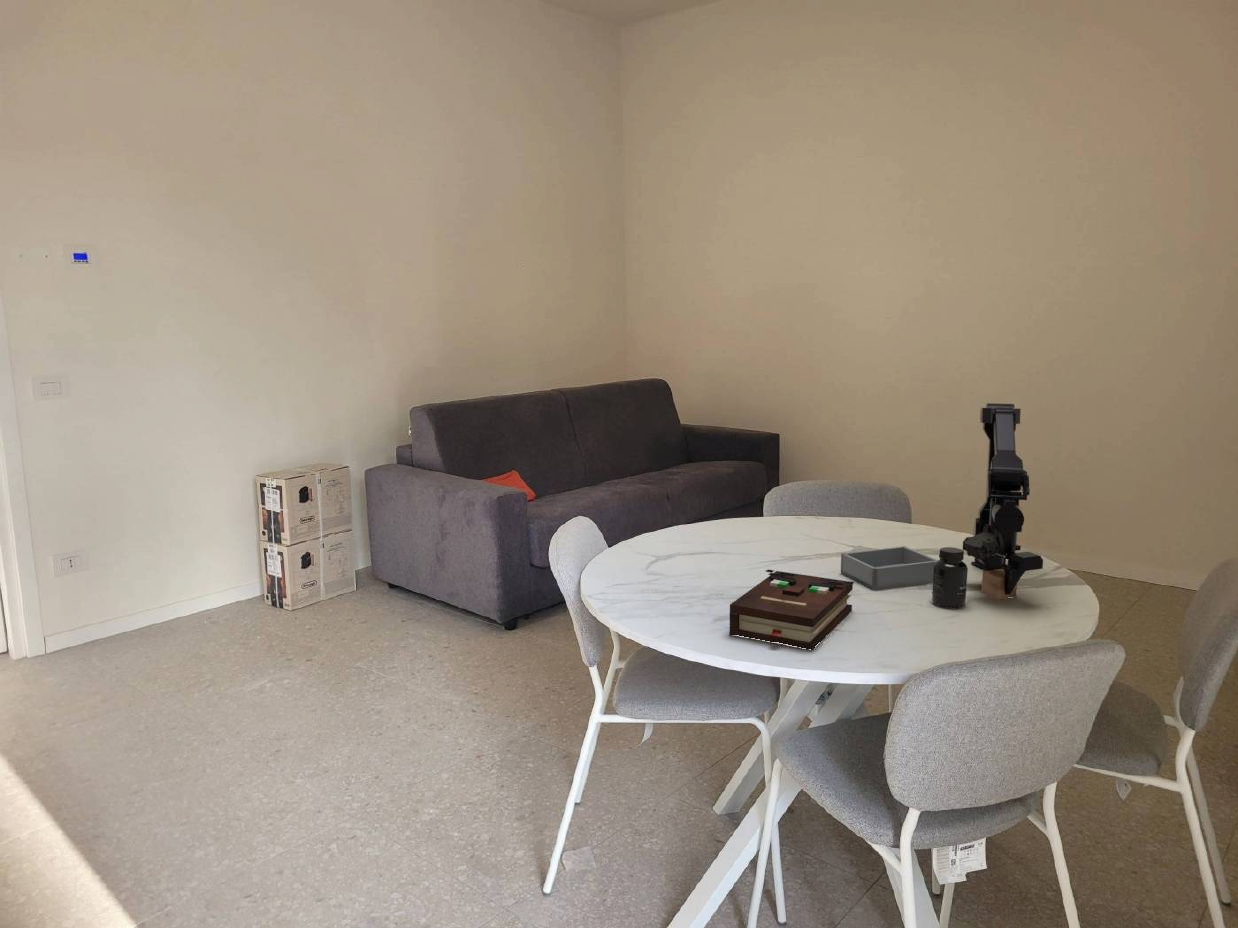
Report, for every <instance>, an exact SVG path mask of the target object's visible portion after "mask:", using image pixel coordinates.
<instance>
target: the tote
mask: <svg viewBox="0 0 1238 928" xmlns="http://www.w3.org/2000/svg"><path fill="white" fill-rule="evenodd" d="M840 554H841V555H840V556H841V557H840V574H841V575H842V576H843V577H846V578H848V579H850V580H852V581H853V582H856V583H858V584H860V585H862V586H864V587H866V588H868V589H869V590H872V591H881V590H882V591H883V590H887V589H895V588H897V589H898V588H904V587H913V586H919V585H926V584H927V585H928V584H933V572H934V564H935V562H936V561H938V560H939V559H937V558H934V557H932V556H929V555H927V554H924V553H922V552H920V551H917V550H914V549H912V548H910V547H908V546H904V545H903V546H895V547H885V548H878V549H877V548H876V549H869V550H859V551H851V552H843V553H840Z"/></svg>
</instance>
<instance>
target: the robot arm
mask: <svg viewBox="0 0 1238 928" xmlns="http://www.w3.org/2000/svg"><path fill="white" fill-rule="evenodd" d="M1021 409H1022V408H1015V404H1014V403H995V402H993V403H992V402H991V403H990V402H988V403H986V404H985V407H981V408H980V413H979V414H980V415H979V423H981V424H982V430H983V432H984V434H985V436H986V437H987V440H988V451H987V453H988V454H987V471H986V494H985V501H984V502H983V504H982V505H981V506H980V507H979V509H978V512H977V513H978V514H977V517H975V519H974V524H973V531H972V535H973V536H966V537H965V539H964V540H963V541H962V550H963V551H966V554H967V556H968V557H973V558H974V560H973V561H971V563H970V564H971V565H973V566H976V567H978V568H981V569H982V572H983V571H989V570H996V569H1003V570H1004V571H1005V594H1010V593H1011V592H1012V590H1013V589H1014V587H1015V586H1016V584H1017V585H1018V582H1019V581H1020V579H1022V578H1021V577H1022V576H1023V575H1024V574H1025V573H1026V572H1027V571H1034V570H1043V568H1044V559H1043V557H1042V556H1041V555H1039V554H1037V553H1034V552H1031V551H1022V552H1018V551H1021V549H1022V547H1021V545H1020V544H1017V543H1018V542H1017V540H1018V533H1022V532H1023V526H1024V523H1025V517H1024V513H1023V511H1022V509H1021V508H1020V501H1027V500H1028V496H1030V493H1031V491H1030V475H1028V471H1027V470H1024V466H1023V465H1024V463H1023V462H1024V461H1023V459H1022V458H1020V456H1018V455H1017V450H1016V437H1015V435H1016V433H1015V432H1016V428H1017V425H1020V424H1021V411H1022V410H1021ZM1021 490H1022V491H1021ZM1016 551H1017V552H1016ZM1006 561H1007V562H1006ZM1006 563H1007V564H1006Z"/></svg>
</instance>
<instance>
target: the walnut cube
mask: <svg viewBox="0 0 1238 928" xmlns="http://www.w3.org/2000/svg"><path fill="white" fill-rule="evenodd" d="M981 580H982V583H981V593H982V594H983V595H985V596H988V597H990V598H992V599H995V600H997V601H998V600H1005V599H1004V598H1007V599H1009V598H1008V597H1014V598H1017V592H1018V583H1017V584H1016V586H1015V587H1014V589H1013V590H1012V592H1011V593H1010V594H1005V571H1004V570H1003V569H996V570H989V571H983V570H982V579H981Z"/></svg>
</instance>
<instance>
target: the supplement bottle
mask: <svg viewBox="0 0 1238 928" xmlns="http://www.w3.org/2000/svg"><path fill="white" fill-rule="evenodd" d="M964 551H965V550H963V548H962V549H961V548H958V547H951V546H949V547H948V546H946V547H945V546H943V547H941V548H939V553H938V558H939V559H937V560H938V561H936V562H935V564H934V572H933V583H932V590H931V592H932V593H931V602H932V603H933V604H934V605H935V606H937V607H939V608H945V609H960V608H963V607H964V606H965V605H966V600H967V586H968V585H967V584H968V570H969V569H968V566H967V563H965V562H964V560H965V559H964V555H965V554H964V553H965V552H964Z"/></svg>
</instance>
